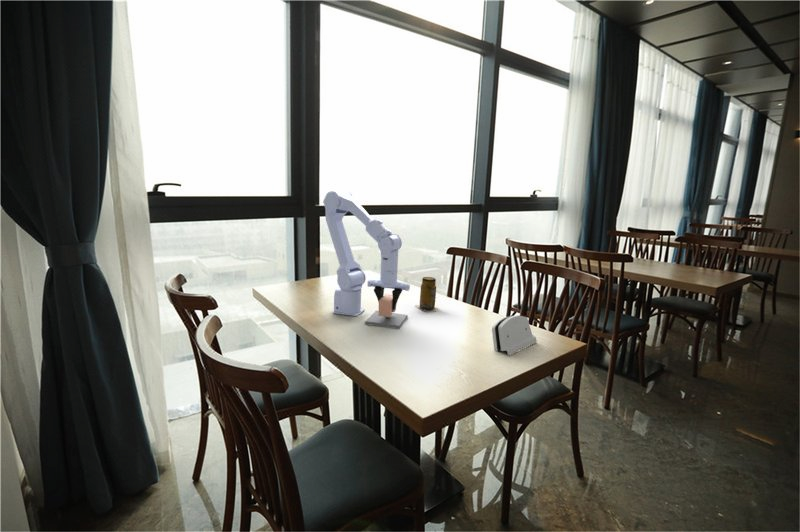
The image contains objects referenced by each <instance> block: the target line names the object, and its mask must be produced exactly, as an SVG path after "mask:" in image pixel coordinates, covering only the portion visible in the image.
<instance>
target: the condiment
mask: <svg viewBox="0 0 800 532" xmlns="http://www.w3.org/2000/svg"><path fill="white" fill-rule="evenodd" d="M421 279H422V280H421V285H420V293H419V295H420V296H419V304H418V305H417V304H416V305H415V307H416V308H418V309H420V310H422V311H424V312H429V313H430V312H436V311H439V312H440V311H441V309H440V308H438V307H436V298H437V297H436V295H437V285H436V281H437V279H436V278H435V277H433V276H432V277H431V276H424V277H422V278H421Z"/></svg>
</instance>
